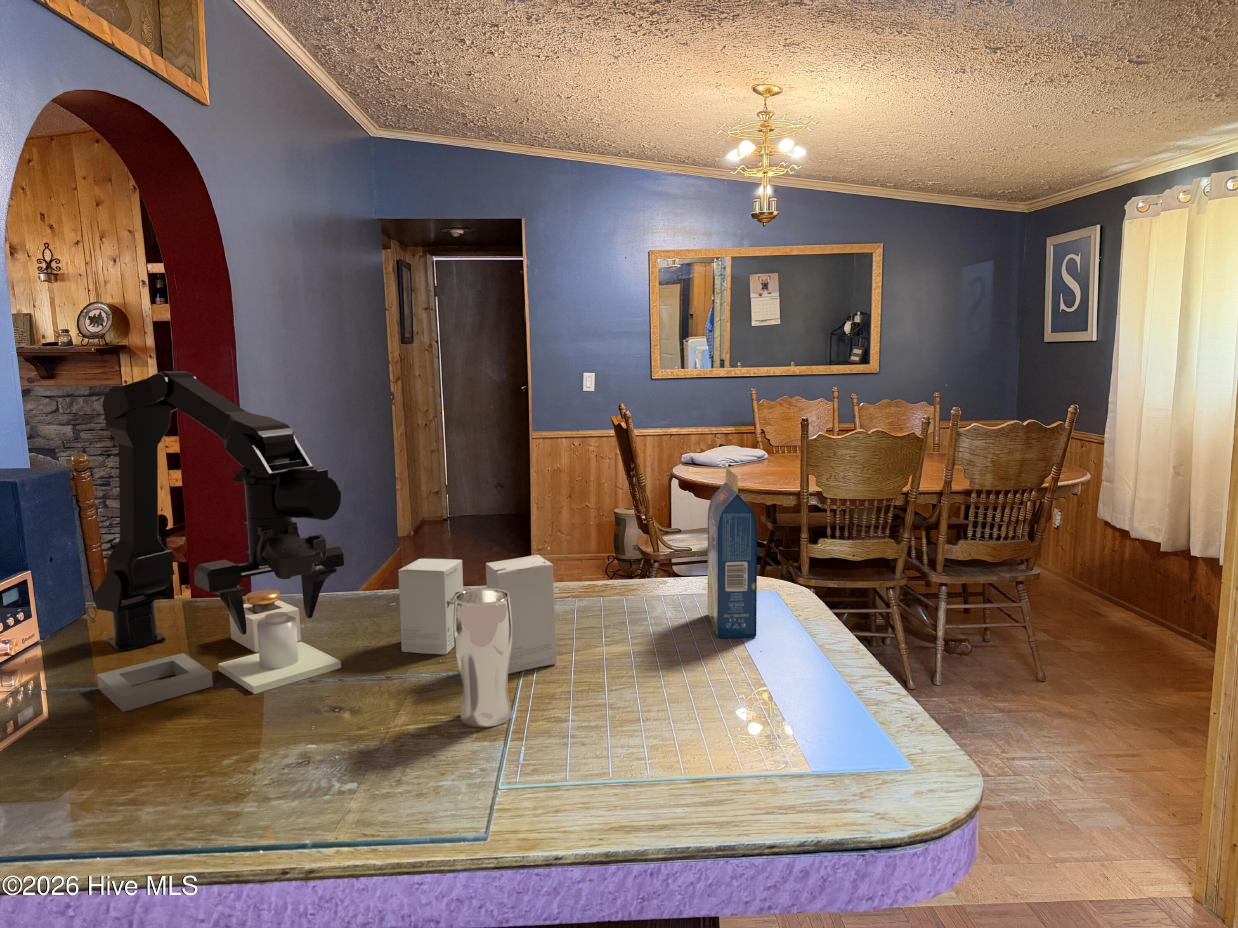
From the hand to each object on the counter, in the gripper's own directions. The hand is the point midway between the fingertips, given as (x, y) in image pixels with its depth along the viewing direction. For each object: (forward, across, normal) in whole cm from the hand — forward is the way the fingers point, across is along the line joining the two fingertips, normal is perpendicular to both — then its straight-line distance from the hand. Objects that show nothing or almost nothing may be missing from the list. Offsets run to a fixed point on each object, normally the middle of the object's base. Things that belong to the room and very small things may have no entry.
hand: (277, 625), depth 113 cm
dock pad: (+6, 0, 0) cm, 6 cm away
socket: (+6, -14, +6) cm, 17 cm away
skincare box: (+7, +24, -24) cm, 35 cm away
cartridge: (+5, 0, 0) cm, 5 cm away
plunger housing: (+6, +4, +14) cm, 16 cm away
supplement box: (+7, +20, -8) cm, 22 cm away
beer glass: (+6, +10, -34) cm, 36 cm away
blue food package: (+7, +57, -36) cm, 68 cm away
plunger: (+5, +4, +14) cm, 15 cm away
